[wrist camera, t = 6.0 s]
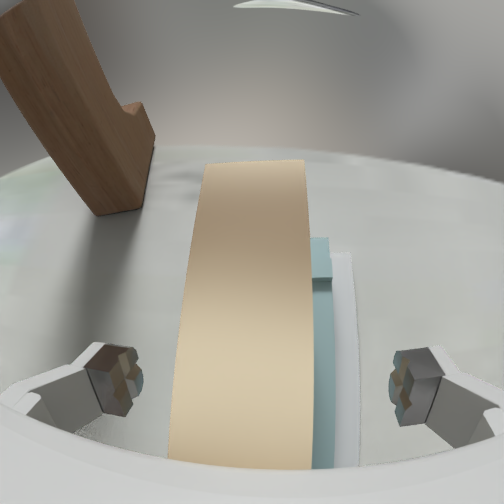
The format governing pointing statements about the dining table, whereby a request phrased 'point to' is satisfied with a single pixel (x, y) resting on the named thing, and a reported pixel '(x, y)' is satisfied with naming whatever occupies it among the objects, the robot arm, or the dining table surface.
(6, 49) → the wooden block
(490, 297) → the dining table surface
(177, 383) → the beige rectangular slab
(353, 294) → the rack
